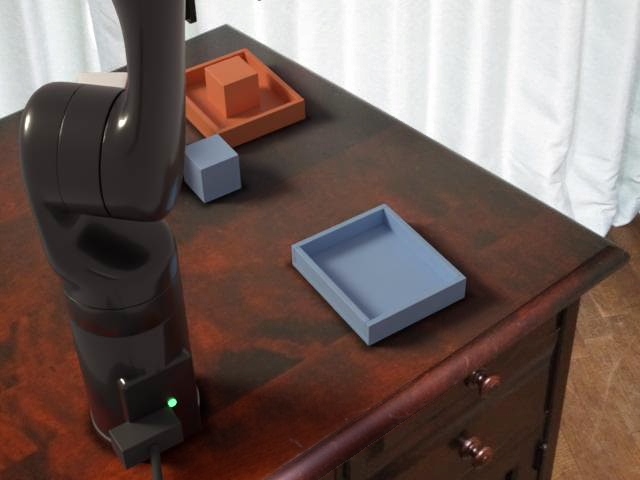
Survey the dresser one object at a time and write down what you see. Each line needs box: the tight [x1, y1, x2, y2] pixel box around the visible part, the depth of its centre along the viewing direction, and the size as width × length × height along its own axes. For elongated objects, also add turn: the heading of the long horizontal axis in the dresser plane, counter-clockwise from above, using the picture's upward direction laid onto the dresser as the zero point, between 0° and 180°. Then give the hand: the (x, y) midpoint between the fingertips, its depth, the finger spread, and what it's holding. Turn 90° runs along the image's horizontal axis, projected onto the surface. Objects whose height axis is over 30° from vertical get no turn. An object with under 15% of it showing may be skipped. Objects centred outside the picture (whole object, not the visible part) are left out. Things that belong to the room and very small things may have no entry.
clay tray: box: [186, 47, 306, 149], centre depth 133 cm, size 13×11×3 cm
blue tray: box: [291, 203, 467, 347], centre depth 111 cm, size 13×11×3 cm
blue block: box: [183, 134, 242, 204], centre depth 122 cm, size 4×4×4 cm
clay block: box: [205, 56, 260, 118], centre depth 132 cm, size 4×4×4 cm
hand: (224, 8), depth 125 cm, fingers open, 8 cm apart
